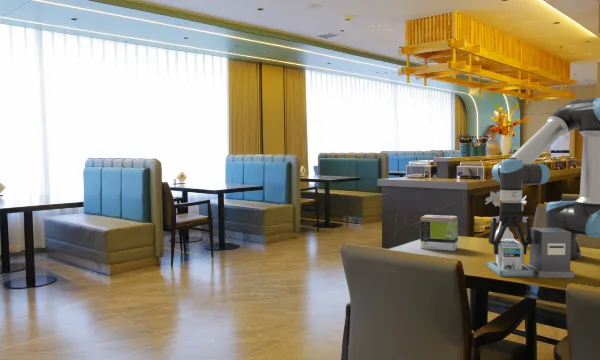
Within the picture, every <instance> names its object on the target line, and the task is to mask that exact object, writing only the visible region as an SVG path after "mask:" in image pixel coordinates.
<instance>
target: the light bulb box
mask: <svg viewBox="0 0 600 360" xmlns="http://www.w3.org/2000/svg"><path fill="white" fill-rule="evenodd" d="M499 246H501V264H498V263H497V266H498V267H499V268H500V269H501V270H522V244H521V242H520V241H518V240H517V239H515V238H514V239H501V241H500V243H499Z"/></svg>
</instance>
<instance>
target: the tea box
mask: <svg viewBox="0 0 600 360" xmlns="http://www.w3.org/2000/svg"><path fill="white" fill-rule="evenodd" d="M458 218H459V217H458V215H437V214H436V215H435V214H425V215H423V216H421V217H420V218H419V220H420V233H419V234H420V249H424V250H425V249H426V250H438V251H452V252H454V251H456V249H458V243H459V242H458V241H459V239H458V238H459V237H458V236H459V235H458V233H459V232H458V231H459V230H458V229H459V227H458V225H459V223H458V222H459V221H458Z"/></svg>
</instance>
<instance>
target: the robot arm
mask: <svg viewBox="0 0 600 360" xmlns="http://www.w3.org/2000/svg"><path fill="white" fill-rule="evenodd" d="M578 129H579V131H578V132H579V134H580V135H581V136H582V156H581V170H580V171H581V172H580V185H579V187H580V189H579V197H578V198H577V199H576V200H567V201H566V200H564V201H563V200H561V201H549V202H547V203H546V210H545V228H561V229H563V230H566V231H569V232H571V255H570V260H577V259H581V257H582V251H581V248H580V244H579V241H578V238H577V235H582V236H586V237H587V236H588V237H590V238H600V96H599V97H591V98H583V99H575V100H572V101H569V102H567V103H565V104H563V106H561V107H559V108H557V110H555V111H554V112H553V113H552V114H551V115H549V117H547V119H546V122H545V124H544V125H543V126H541V127H540V129H538V130H537V132H536V133H534V135H532V136H531V137H530V138H529V139H528V140H527V141H525V143H523V145H521V146H520V147H519V148H518V149H517V150H516V151H515V152H514V153H513V154H512V155H511V156H510V157H509V158H507V159H502V160H501V162H499V163H496V164H494V165H493V167H492V169H491V176H492V178H493V179H494V181H496V182H499V187H500V188H499V189H500V190H499V192H500V200H501V201H502V202H500V207H499V214H498V216H491V217H490V221H491V225H490V230H489V231H490V232H489V237H488V240H487V241H488V243H489V244H491V245H493V254H494V255H495V262H496V263H498V264H501V246H499V243H500V241H501V239H502V236H503V234H504V232H505V230H506V229H507V227H508V228H514V229H515V232H516V234H517V237H518V239H519V242H520V243H521V244H522V264H523V265H525V264H524V263H525V262H524V261H525V255H527V247H528V246H530V244H532V238H531V230H530V228H531V224H530V223H531V218H530V217H529V216H523V214H522V213H523V211H522V203H521V202H520V201H522V199H523V186H525V185H543V184H546V183H547V182H549V179H550V178H551V177H550V176H551V172H550V171H551V170H550V169H549V167H548V166H547V165H546V164H543V163H542V164H541V163H534V162H535V161H536V160H537V159H538V158H539V157H540V156H541V155H543V153H544V152H545V151H546V150H547V149H549V148H550V146H552V145H553V144H554V143H555V142H556V141H557V140H558V139H559V138H560V137H561V136H565V135H567V134H568V133H569V132H571V131H573V130H578ZM500 221H501V222H502V223H501V225H500V229H499V231H498V233H497V236H496V238H495V234H496V230H497V229H498V227H497V226H498V223H499V222H500ZM521 221H522V222H523V228H524V233H523V230H522V227H521V224H520V223H521ZM524 234H525V235H524ZM494 239H495V240H494Z"/></svg>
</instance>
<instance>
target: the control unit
mask: <svg viewBox="0 0 600 360" xmlns="http://www.w3.org/2000/svg"><path fill="white" fill-rule="evenodd" d="M530 230H531V238H532V244H529V264H525V266H527V267H528V268H530V269H532V270H534V271H535V277H538V278H540V279H543V278H544V279H545V278H546V279H563V278H564V279H574V278H575V271H572V270H571V259H570V255H571V232H569V231H566V230H563V229H561V228H546V227H530Z"/></svg>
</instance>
